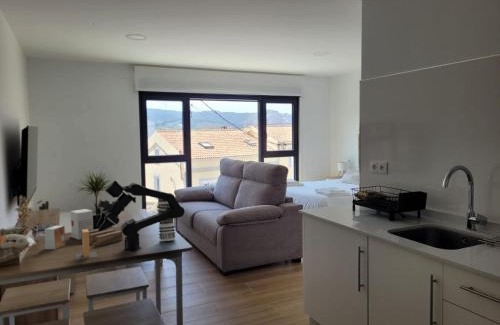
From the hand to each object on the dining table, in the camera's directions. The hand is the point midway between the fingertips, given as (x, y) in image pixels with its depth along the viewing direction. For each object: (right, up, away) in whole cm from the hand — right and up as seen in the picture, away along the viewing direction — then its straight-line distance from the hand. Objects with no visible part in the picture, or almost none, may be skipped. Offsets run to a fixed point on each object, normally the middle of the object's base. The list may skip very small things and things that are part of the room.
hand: (97, 228), depth 179 cm
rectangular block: (-5, -12, -2) cm, 13 cm away
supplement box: (-22, -10, +32) cm, 40 cm away
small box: (-27, -12, +13) cm, 32 cm away
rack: (-7, -11, +24) cm, 27 cm away
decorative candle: (+29, -10, +22) cm, 37 cm away
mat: (-5, -13, -2) cm, 14 cm away
